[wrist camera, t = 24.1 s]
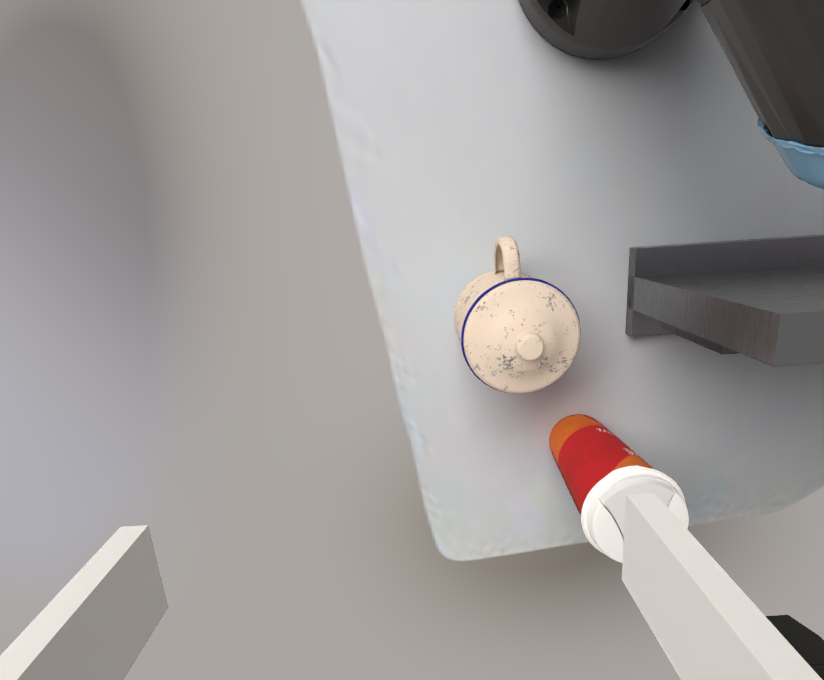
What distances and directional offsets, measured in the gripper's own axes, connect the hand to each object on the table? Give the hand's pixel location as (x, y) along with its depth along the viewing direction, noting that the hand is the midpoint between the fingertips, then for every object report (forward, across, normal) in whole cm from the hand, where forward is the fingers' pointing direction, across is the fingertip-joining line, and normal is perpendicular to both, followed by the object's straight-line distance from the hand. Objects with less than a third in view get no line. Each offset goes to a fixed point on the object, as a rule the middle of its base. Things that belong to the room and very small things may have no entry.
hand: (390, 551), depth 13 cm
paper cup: (+32, +17, -14) cm, 38 cm away
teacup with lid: (+32, +9, +1) cm, 33 cm away
